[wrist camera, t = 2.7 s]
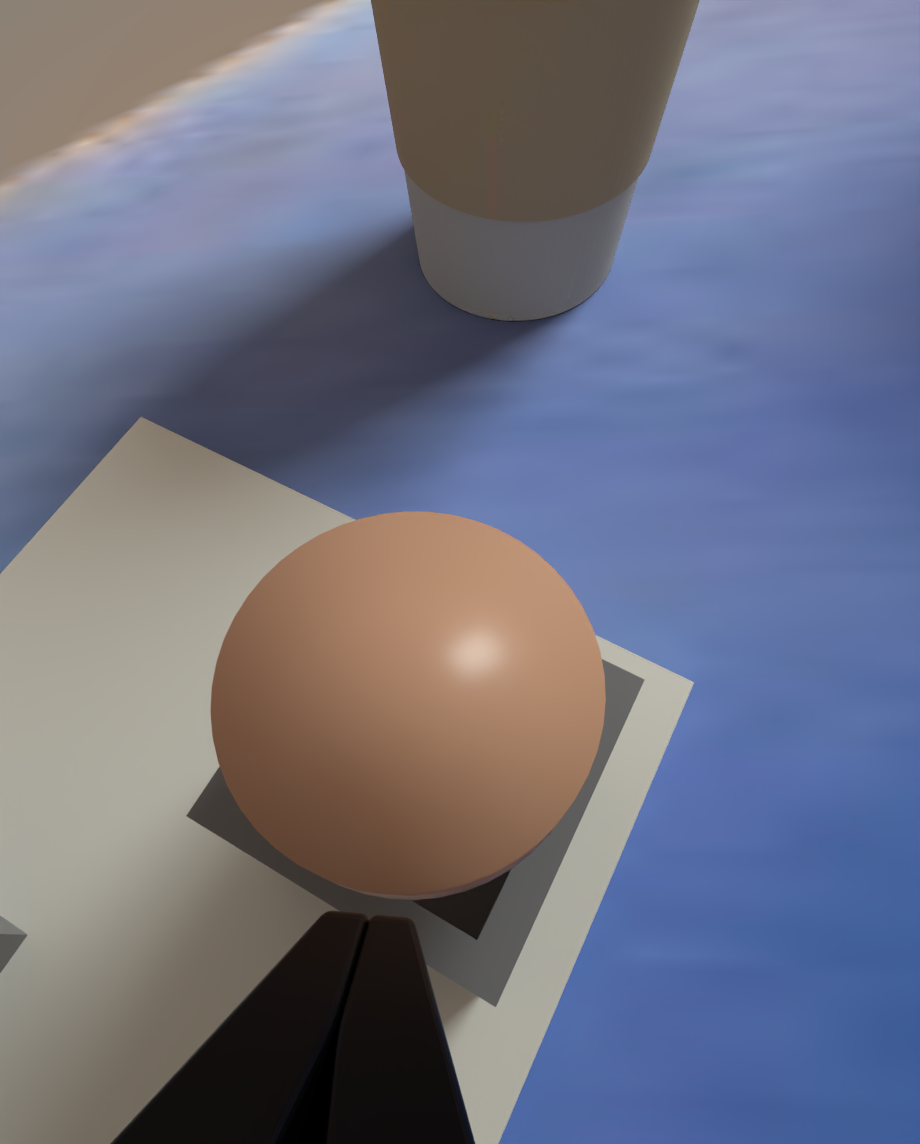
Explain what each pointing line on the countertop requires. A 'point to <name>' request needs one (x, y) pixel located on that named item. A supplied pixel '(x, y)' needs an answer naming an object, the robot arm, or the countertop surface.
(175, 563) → the grey button stand
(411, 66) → the coffee cup
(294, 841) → the terracotta button
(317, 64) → the countertop surface
